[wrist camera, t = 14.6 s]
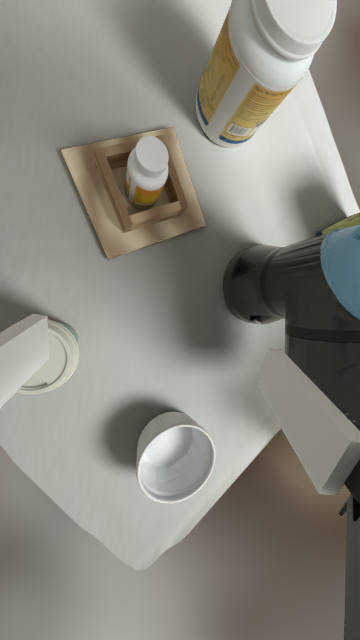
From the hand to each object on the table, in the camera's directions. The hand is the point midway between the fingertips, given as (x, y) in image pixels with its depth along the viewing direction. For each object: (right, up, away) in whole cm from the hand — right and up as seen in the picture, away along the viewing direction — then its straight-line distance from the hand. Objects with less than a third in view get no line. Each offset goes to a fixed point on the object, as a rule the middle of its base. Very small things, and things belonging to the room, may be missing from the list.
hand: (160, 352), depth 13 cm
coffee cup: (-18, -1, +22) cm, 28 cm away
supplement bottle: (-5, +22, +22) cm, 32 cm away
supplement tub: (+9, +39, +27) cm, 48 cm away
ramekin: (-1, -21, +29) cm, 35 cm away
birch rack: (-5, +23, +23) cm, 33 cm away
